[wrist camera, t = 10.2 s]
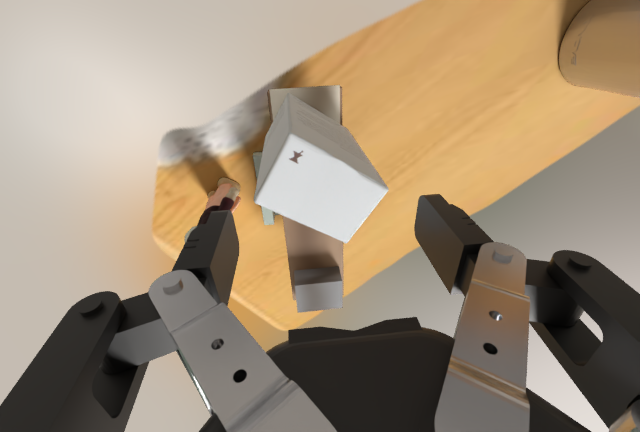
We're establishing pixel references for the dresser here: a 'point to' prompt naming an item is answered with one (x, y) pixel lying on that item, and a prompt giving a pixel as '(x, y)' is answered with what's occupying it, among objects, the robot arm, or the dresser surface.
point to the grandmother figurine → (220, 200)
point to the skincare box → (316, 172)
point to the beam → (305, 242)
